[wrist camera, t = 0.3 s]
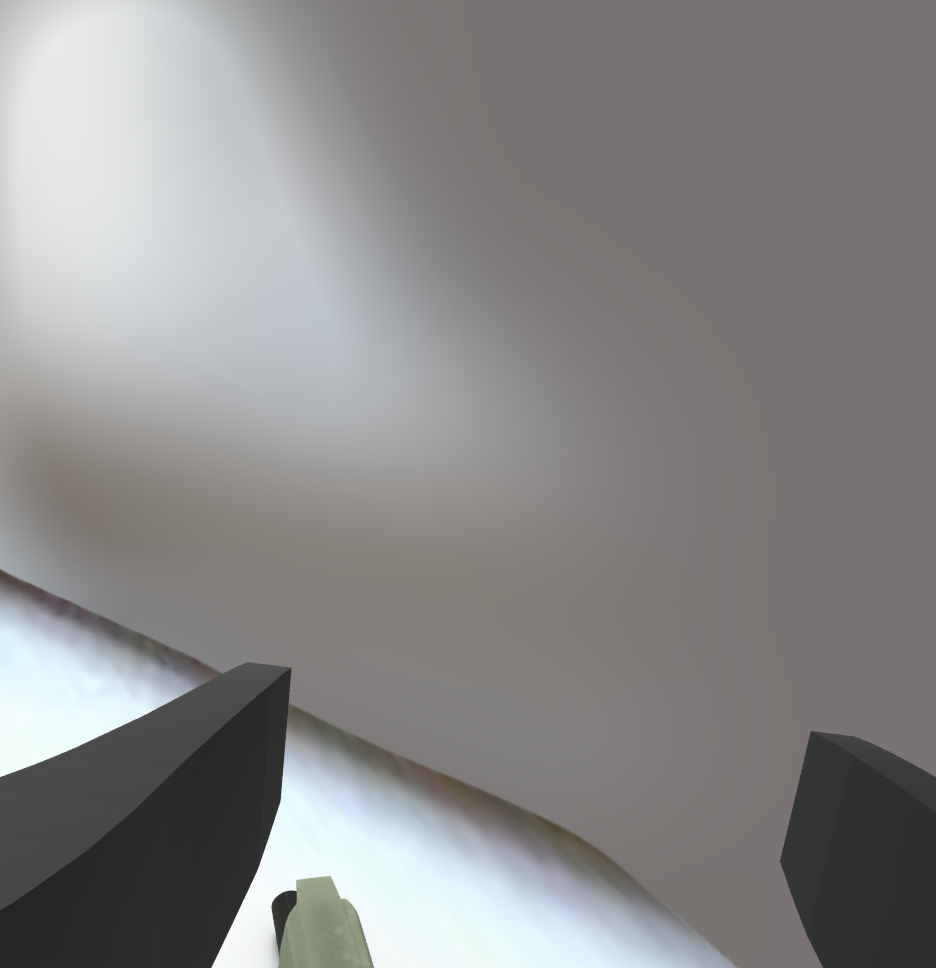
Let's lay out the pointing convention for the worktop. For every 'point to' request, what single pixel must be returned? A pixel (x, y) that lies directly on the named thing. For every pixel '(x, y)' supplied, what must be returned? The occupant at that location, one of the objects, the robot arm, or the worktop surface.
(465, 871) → the worktop surface
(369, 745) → the worktop surface
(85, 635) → the worktop surface
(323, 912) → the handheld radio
